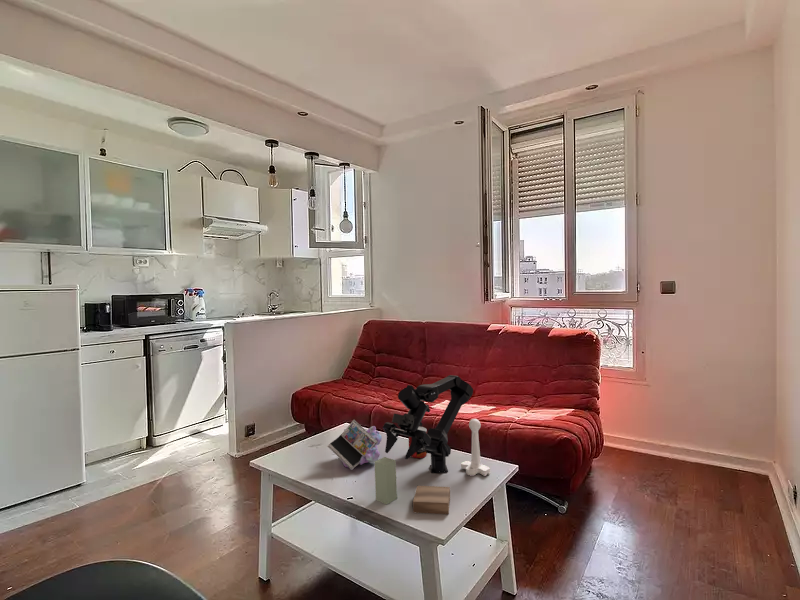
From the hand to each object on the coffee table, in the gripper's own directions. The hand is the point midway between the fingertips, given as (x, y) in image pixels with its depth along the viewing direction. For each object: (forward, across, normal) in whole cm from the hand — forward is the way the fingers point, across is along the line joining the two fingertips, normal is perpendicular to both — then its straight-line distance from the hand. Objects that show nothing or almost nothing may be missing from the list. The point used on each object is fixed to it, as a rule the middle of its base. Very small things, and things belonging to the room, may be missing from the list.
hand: (395, 455), depth 147 cm
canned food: (-12, -16, +31) cm, 37 cm away
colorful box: (+2, -31, +17) cm, 36 cm away
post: (+13, 0, +5) cm, 14 cm away
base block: (+8, +14, +10) cm, 20 cm away
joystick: (-12, +12, +31) cm, 35 cm away
